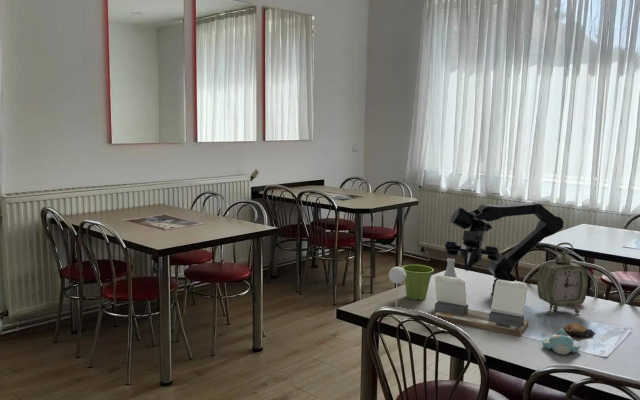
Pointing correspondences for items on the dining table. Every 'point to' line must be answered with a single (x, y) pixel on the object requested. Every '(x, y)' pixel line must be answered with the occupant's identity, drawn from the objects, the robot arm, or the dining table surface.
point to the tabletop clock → (562, 282)
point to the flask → (450, 269)
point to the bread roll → (578, 331)
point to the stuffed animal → (561, 343)
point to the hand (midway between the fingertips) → (466, 270)
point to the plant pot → (417, 281)
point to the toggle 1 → (450, 290)
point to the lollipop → (397, 277)
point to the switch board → (481, 318)
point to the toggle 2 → (509, 297)
